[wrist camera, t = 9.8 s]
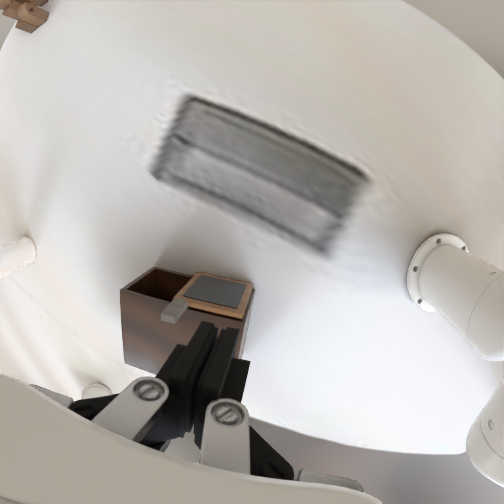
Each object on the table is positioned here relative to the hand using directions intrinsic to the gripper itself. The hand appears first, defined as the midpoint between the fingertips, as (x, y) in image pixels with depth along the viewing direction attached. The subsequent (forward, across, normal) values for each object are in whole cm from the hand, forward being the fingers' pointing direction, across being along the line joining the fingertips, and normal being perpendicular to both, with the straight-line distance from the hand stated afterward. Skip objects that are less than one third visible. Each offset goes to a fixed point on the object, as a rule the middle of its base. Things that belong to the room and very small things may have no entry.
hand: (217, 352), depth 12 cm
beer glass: (+27, +49, +12) cm, 57 cm away
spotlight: (+27, +30, +45) cm, 61 cm away
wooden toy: (+27, +64, -50) cm, 86 cm away
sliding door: (+27, +4, +7) cm, 28 cm away
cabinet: (+27, +8, +14) cm, 32 cm away
